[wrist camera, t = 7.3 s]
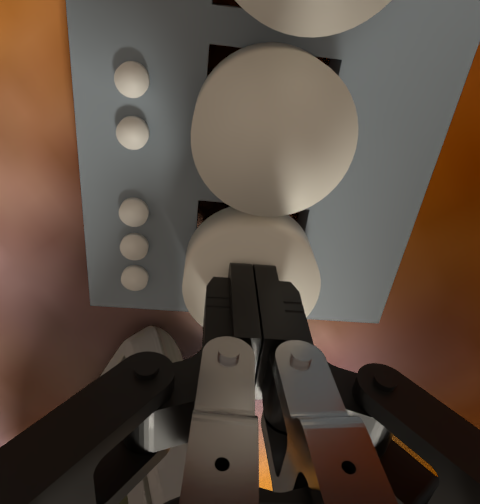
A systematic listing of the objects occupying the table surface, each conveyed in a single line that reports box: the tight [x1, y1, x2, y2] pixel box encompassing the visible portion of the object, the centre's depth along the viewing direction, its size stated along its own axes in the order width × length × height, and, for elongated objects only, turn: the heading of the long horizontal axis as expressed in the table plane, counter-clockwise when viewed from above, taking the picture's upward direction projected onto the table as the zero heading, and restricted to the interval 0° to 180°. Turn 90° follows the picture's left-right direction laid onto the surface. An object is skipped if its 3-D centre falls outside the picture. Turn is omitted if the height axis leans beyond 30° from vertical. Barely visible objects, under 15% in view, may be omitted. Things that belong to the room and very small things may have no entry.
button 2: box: [191, 42, 358, 217], centre depth 13 cm, size 5×5×3 cm
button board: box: [66, 0, 480, 323], centre depth 14 cm, size 12×16×2 cm
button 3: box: [182, 206, 321, 327], centre depth 16 cm, size 5×5×3 cm
